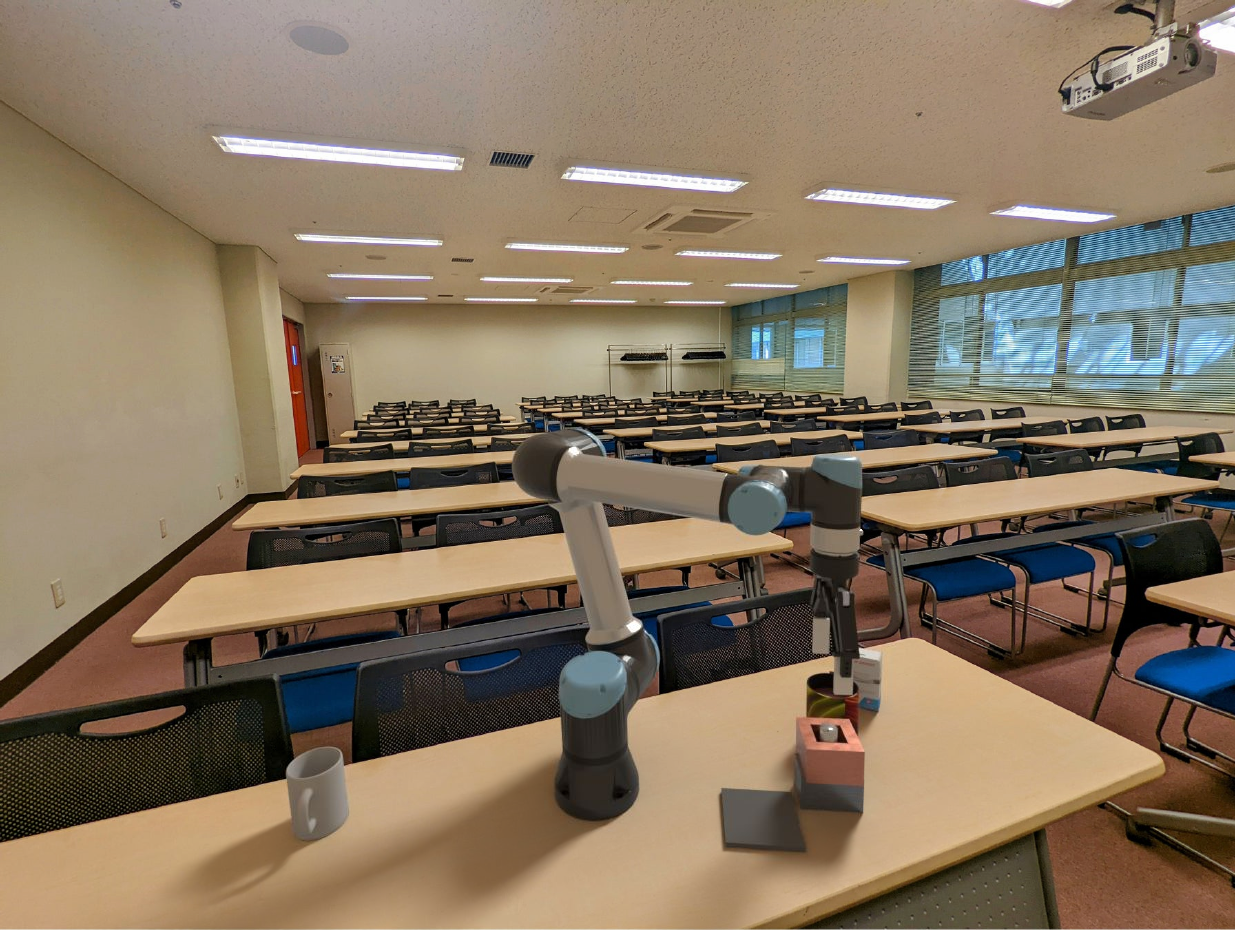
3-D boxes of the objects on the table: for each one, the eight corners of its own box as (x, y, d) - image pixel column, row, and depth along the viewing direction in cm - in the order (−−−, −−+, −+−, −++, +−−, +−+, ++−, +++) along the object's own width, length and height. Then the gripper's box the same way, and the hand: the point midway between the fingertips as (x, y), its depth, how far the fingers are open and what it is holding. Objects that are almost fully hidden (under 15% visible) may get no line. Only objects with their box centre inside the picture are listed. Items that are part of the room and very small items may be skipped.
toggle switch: (800, 809, 95) (801, 737, 93) (794, 784, 101) (794, 716, 99) (863, 812, 93) (865, 740, 92) (852, 787, 99) (854, 718, 98)
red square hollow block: (806, 782, 92) (806, 749, 92) (795, 748, 101) (796, 717, 100) (863, 786, 91) (864, 751, 90) (848, 750, 100) (849, 719, 99)
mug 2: (832, 713, 122) (833, 661, 120) (867, 754, 108) (869, 696, 106) (789, 718, 121) (789, 665, 119) (819, 759, 107) (820, 700, 105)
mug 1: (302, 808, 99) (295, 750, 98) (354, 799, 101) (348, 742, 99) (276, 863, 87) (268, 799, 86) (336, 852, 89) (329, 789, 88)
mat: (725, 847, 88) (725, 842, 87) (721, 792, 99) (721, 787, 99) (805, 852, 86) (805, 847, 86) (791, 796, 98) (791, 791, 98)
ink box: (881, 701, 126) (883, 651, 124) (878, 712, 121) (879, 661, 120) (840, 691, 130) (842, 643, 128) (836, 701, 126) (837, 652, 124)
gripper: (887, 575, 79) (880, 715, 82) (836, 530, 104) (833, 639, 107) (832, 575, 80) (827, 713, 83) (794, 530, 105) (792, 638, 108)
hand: (830, 671), depth 95 cm, fingers open, 13 cm apart
